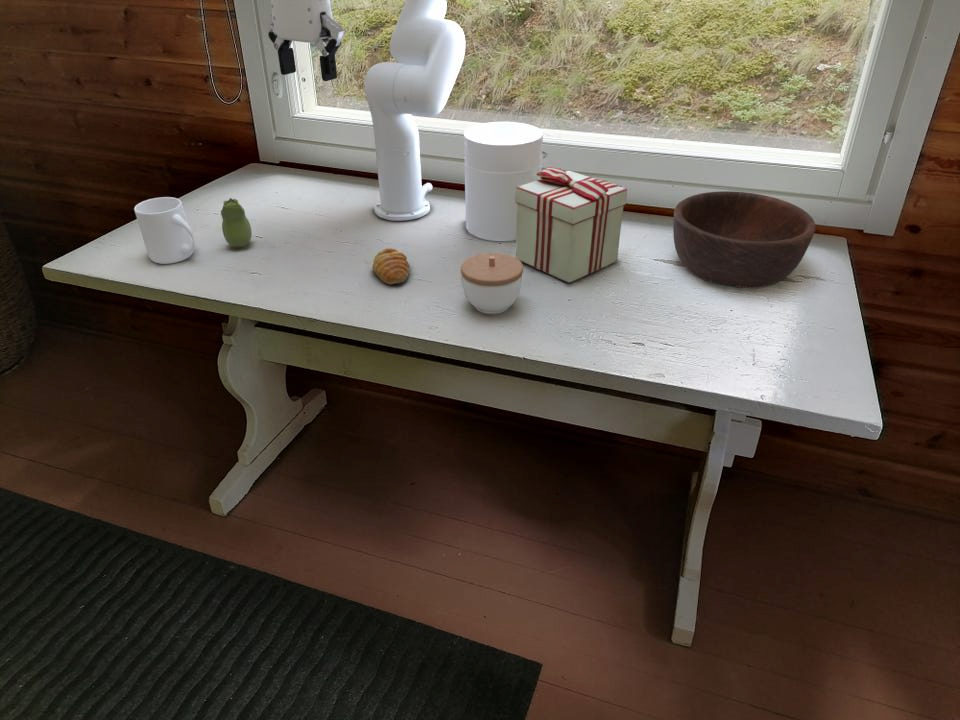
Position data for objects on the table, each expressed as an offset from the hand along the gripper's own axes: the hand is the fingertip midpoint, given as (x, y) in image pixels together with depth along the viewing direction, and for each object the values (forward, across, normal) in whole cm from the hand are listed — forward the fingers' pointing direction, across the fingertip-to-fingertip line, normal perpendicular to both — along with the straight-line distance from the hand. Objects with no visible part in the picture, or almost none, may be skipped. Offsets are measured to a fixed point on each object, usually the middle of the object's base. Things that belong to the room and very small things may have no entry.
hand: (309, 76), depth 122 cm
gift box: (+34, -42, -23) cm, 58 cm away
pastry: (+34, -16, 0) cm, 38 cm away
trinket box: (+34, -38, +1) cm, 52 cm away
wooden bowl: (+34, -70, -36) cm, 86 cm away
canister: (+34, -23, -30) cm, 50 cm away
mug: (+34, +26, +17) cm, 46 cm away
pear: (+34, +19, +7) cm, 40 cm away
